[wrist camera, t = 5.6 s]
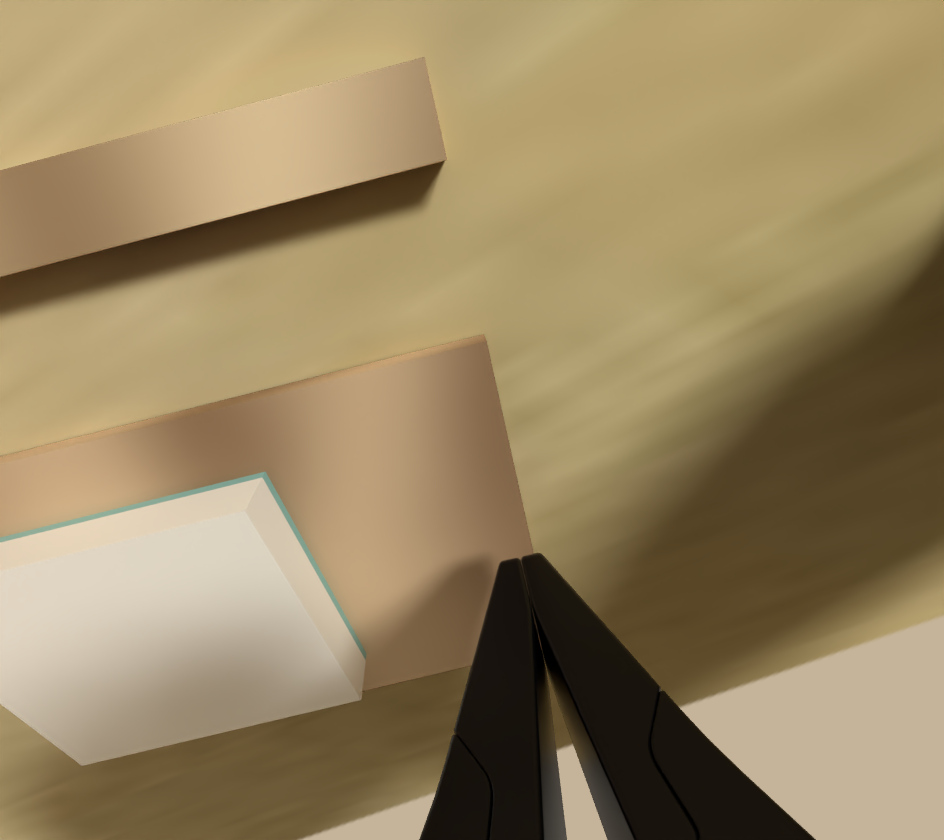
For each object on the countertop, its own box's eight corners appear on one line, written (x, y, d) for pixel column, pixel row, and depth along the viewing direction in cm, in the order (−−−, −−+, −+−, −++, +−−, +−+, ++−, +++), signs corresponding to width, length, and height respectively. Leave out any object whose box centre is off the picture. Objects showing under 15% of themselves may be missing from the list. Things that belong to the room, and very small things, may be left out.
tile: (245, 510, 8) (-132, 603, 8) (361, 700, 11) (82, 766, 11) (265, 471, 9) (-69, 554, 9) (366, 653, 12) (111, 714, 12)
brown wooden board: (483, 334, 9) (487, 340, 8) (550, 633, 13) (554, 646, 12) (-168, 498, 9) (-192, 512, 8) (112, 736, 13) (103, 752, 13)
